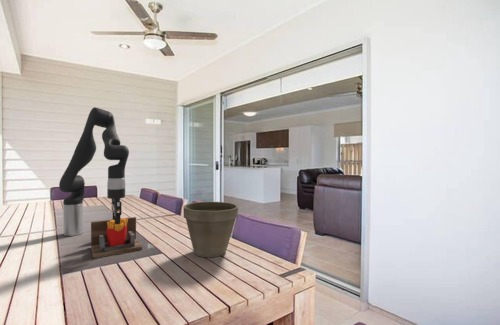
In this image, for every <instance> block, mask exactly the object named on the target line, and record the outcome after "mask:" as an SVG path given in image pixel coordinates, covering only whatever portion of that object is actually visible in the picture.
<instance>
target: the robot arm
mask: <svg viewBox="0 0 500 325" xmlns="http://www.w3.org/2000/svg"><path fill="white" fill-rule="evenodd" d="M95 126H97V127H100V128H105V130H103V131H102V134H101V139H102V141H103V144H104V145H103V146H104V149H103V156H104V158H105V159H107V160H109V161H118V163H117V164H112V165H110V166H109V165H108V167H107V182H106V183H107V185H106V186H107V190H106V191H107V192H106V194H107V195H106V196H107V199H111V202H110V204H111V212H112V219H113V220H115V224H120V219H121V216H122V215H123V214H122V206H123V205H122V204H123V203H122V201H121V199H123V198H125V197H126V178H125V173H126V164H127V162H128V158H129V154H130V150H129V147H128V146H126V145H123V144H121V140H120V137H119V135H118V133H117V129H116V121H115V117H114V114H113V113H112V112H110V110H109V111H108V110H106V109H104V108H100V107H95V106H94V107H92V109H91V110H90V111H89V114H88V117H87V118H86V123H85V125H84V128H83V131H82V134H81V136H80V138H79V141H77V142H78V143H77V144H76V147H75V149H74V151H73V155H72V157H71V159H70V161H69V163H68V165H67V167H66V169H65V171H64V172H63V174H62V175H61V178H60V180H59V182H58V186H59V190H60V191H61V192H62V193H71V194H69V196H68V197H66V198H64V199H63V201H62V202H63V206H62V207H63V208H62V209H63V236H64V237H71V236H72V237H74V236H78V235H81V234H84V205H83V204H84V203H83V202H84V198H85V185H86V182H85V179H84V177H83V176H82V175H78V173H80V172H81V171H82V169H83V168H85V167H86V166H87V165H89V163H91V161H92V160H93V158H94V157H95V154H96V151H97V145H96V141H95V138H94V128H95Z"/></svg>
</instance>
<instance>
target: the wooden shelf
mask: <svg viewBox="0 0 500 325" xmlns="http://www.w3.org/2000/svg"><path fill="white" fill-rule="evenodd" d="M123 218H124V219H128V222H127V233H126V244H123V245H117V246H111V247H109V246H108V237H107V228H108V225H107V222H109V221H110V220H111V221H112V220H113V218H112V219H105V220H96V221H95V220H94V221H90V248H91V249H90V250H91V253H92V258H93V259H96V258H97V259H98V258H104V257H107V256H108V257H109V256H113V255H114V256H115V255H119V254H126V253H131V252H136V251H142V250H143V245H142V244H141V243H140V241H139V240H138V239H137V217H136V216H132V217H131V216H130V217H123ZM109 224H110V223H109Z"/></svg>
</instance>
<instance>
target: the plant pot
mask: <svg viewBox="0 0 500 325" xmlns="http://www.w3.org/2000/svg"><path fill="white" fill-rule="evenodd" d="M182 210H183V217H184V219H185V221H186V226H187V228H188V229H187V230H188V234H189V237H190V242H191V246H192V249H193V252H194V254H195V255H196V256H198V257H200V258H201V257H202V258H215V257H216V258H217V257H219V256H223V255H225V253H226V252H227V249H228V246H229V242H230V239H231V235H232V232H233V229H234V225H235V221H236V219H237V218H238V214H239V213H238V212H239V205H237V204H236V203H232V202H224V201H198V202H190V203H187V204H184V205H183V209H182Z"/></svg>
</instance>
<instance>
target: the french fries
mask: <svg viewBox="0 0 500 325" xmlns="http://www.w3.org/2000/svg"><path fill="white" fill-rule="evenodd" d="M124 218H125V217H122V218H121V217H120V224H115V220H112V219H109V220H110V221H109V222H107V225H108V228H107V237H108V246H109V247H111V246H117V245H123V244H126V233H127V222H128V219H124ZM111 220H112V221H111ZM109 223H110V224H109Z"/></svg>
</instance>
